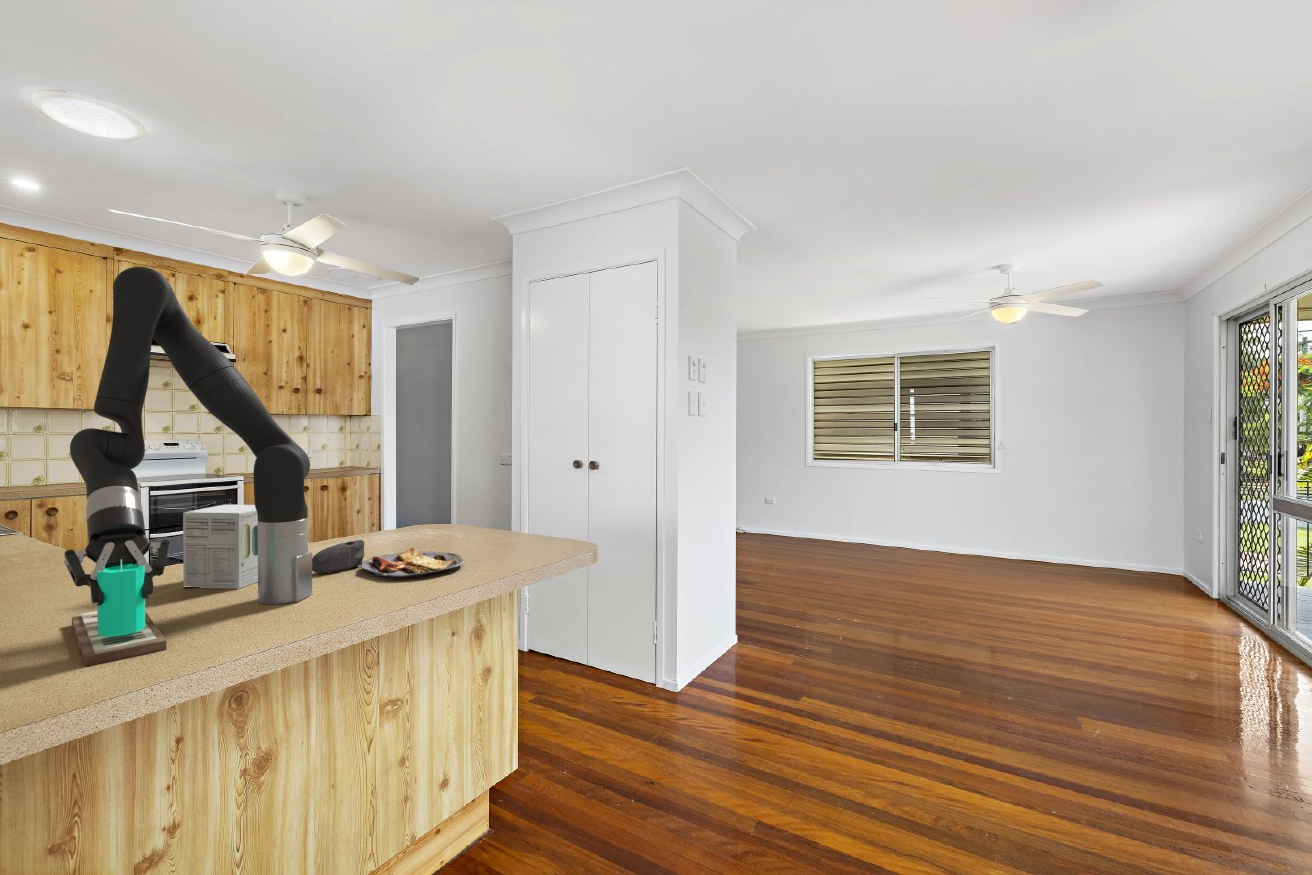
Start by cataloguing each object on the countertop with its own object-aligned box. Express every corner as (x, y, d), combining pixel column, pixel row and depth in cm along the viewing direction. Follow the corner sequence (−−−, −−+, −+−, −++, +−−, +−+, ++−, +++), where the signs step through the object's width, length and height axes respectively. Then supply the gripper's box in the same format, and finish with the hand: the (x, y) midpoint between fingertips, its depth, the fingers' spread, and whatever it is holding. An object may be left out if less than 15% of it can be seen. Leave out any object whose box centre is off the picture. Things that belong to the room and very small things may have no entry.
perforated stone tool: (316, 578, 149) (316, 550, 149) (303, 575, 151) (303, 547, 151) (371, 566, 162) (371, 540, 161) (359, 563, 164) (359, 537, 164)
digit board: (71, 625, 114) (71, 614, 114) (141, 613, 121) (141, 602, 121) (85, 666, 95) (85, 653, 95) (166, 649, 103) (166, 637, 102)
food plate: (343, 569, 157) (344, 556, 157) (423, 554, 176) (424, 542, 176) (400, 588, 143) (400, 573, 142) (480, 570, 162) (480, 557, 162)
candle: (117, 638, 98) (116, 564, 98) (87, 634, 99) (86, 562, 99) (154, 626, 104) (154, 556, 104) (126, 622, 105) (125, 554, 105)
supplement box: (239, 589, 138) (238, 512, 138) (182, 588, 138) (181, 512, 138) (276, 574, 151) (276, 504, 151) (224, 573, 152) (224, 503, 151)
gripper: (59, 508, 101) (63, 595, 93) (169, 500, 112) (181, 578, 104) (58, 535, 105) (62, 621, 97) (164, 525, 115) (176, 602, 107)
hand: (123, 598), depth 100 cm, fingers closed on candle, 5 cm apart
